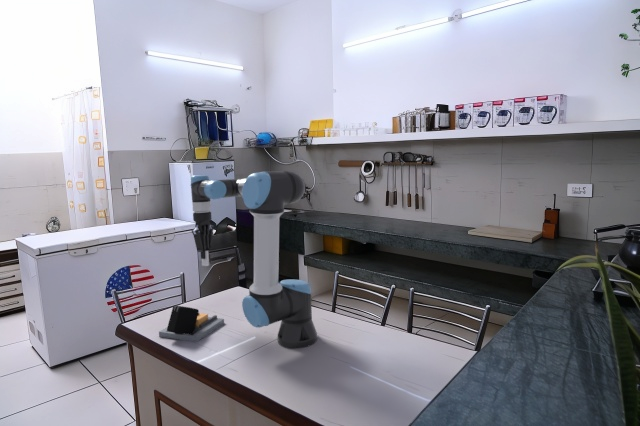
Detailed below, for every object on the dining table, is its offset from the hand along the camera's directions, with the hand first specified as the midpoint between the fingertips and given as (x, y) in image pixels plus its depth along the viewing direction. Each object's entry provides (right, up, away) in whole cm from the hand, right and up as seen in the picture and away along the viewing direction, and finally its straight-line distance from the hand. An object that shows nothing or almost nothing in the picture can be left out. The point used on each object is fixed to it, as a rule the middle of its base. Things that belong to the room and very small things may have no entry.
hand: (205, 265), depth 178 cm
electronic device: (-6, -25, -16) cm, 30 cm away
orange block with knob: (-2, -23, -6) cm, 24 cm away
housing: (-3, -26, -8) cm, 27 cm away
